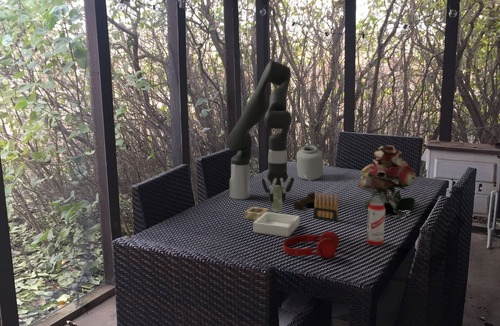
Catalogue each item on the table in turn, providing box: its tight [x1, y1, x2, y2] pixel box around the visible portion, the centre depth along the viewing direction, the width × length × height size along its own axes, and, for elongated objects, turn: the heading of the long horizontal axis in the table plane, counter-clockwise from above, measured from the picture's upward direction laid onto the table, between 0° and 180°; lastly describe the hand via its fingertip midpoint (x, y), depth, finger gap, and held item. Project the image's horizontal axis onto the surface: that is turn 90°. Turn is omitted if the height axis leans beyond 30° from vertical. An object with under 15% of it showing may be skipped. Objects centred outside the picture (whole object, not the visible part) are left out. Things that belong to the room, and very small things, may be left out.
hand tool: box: [293, 191, 316, 211], centre depth 237 cm, size 19×4×5 cm, turn 145°
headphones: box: [282, 230, 340, 259], centre depth 181 cm, size 15×7×20 cm
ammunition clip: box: [313, 191, 339, 223], centre depth 215 cm, size 11×2×12 cm, turn 63°
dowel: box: [271, 185, 283, 213], centre depth 202 cm, size 4×4×10 cm
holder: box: [243, 206, 270, 221], centre depth 219 cm, size 8×8×3 cm
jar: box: [296, 137, 324, 181], centre depth 284 cm, size 19×15×25 cm
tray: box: [252, 211, 301, 238], centre depth 204 cm, size 15×15×4 cm
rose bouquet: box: [357, 144, 416, 219], centre depth 229 cm, size 26×29×30 cm
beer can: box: [365, 201, 386, 247], centre depth 187 cm, size 6×6×16 cm
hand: (277, 201), depth 202 cm, fingers closed on dowel, 4 cm apart
